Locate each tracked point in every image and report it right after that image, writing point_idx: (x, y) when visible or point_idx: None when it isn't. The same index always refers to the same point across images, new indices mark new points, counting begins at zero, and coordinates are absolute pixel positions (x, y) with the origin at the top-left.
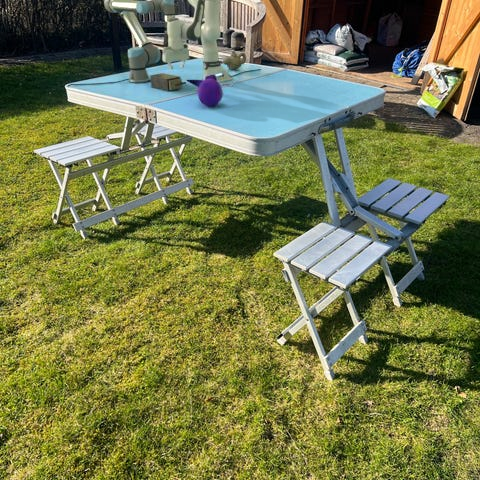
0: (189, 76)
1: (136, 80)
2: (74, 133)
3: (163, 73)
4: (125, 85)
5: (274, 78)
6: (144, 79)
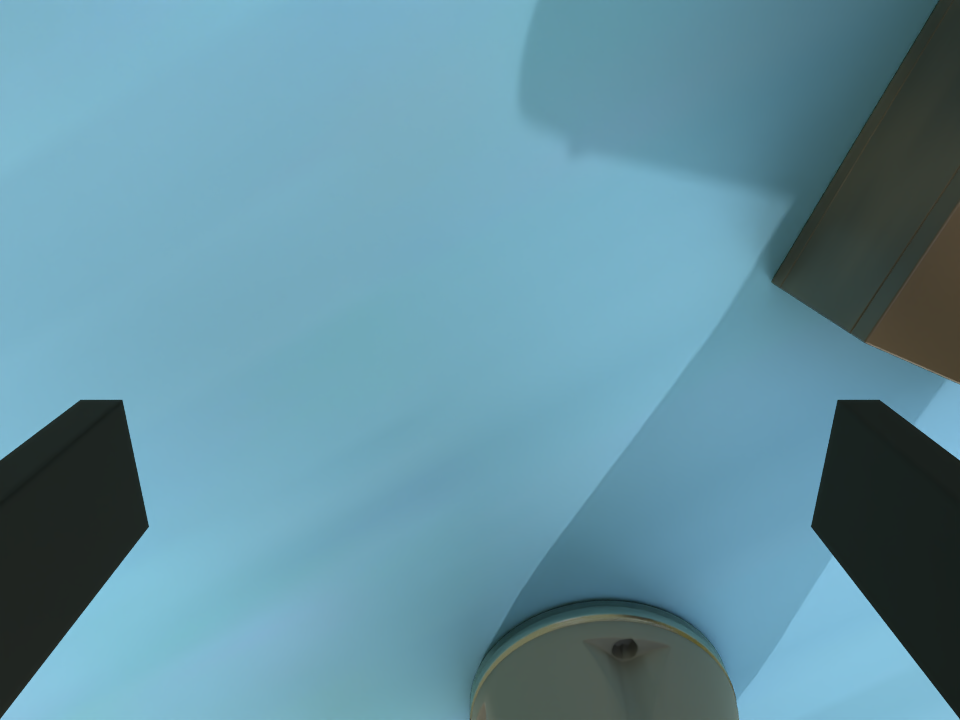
0: (12, 230)
1: (734, 694)
2: None
3: (905, 314)
4: (875, 710)
5: None
6: (670, 636)
